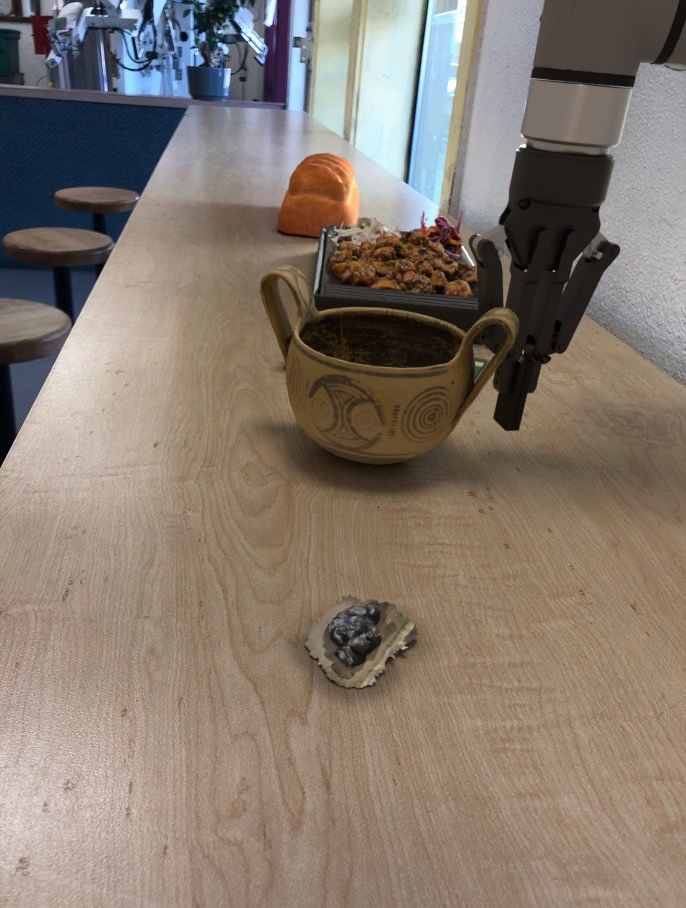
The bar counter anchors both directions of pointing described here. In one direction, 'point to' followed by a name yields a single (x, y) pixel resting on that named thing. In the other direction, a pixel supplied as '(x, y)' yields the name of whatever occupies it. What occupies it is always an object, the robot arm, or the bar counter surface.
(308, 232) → the bread
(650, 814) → the bar counter surface
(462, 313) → the food platter
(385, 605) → the dark lumps on shell
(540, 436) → the bar counter surface
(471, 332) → the ceramic bowl
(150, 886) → the bar counter surface
